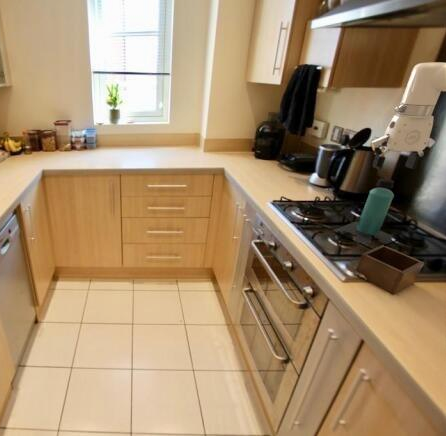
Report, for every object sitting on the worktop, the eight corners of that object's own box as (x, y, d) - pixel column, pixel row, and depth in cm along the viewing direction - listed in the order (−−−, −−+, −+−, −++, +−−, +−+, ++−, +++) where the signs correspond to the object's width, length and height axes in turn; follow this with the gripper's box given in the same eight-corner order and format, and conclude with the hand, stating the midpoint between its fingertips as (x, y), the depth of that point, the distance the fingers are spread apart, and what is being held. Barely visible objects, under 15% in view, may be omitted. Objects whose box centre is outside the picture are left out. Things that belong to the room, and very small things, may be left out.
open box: (413, 283, 87) (424, 262, 84) (393, 294, 83) (404, 273, 80) (374, 264, 95) (382, 244, 92) (353, 273, 91) (362, 253, 88)
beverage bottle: (381, 239, 106) (405, 184, 96) (359, 238, 107) (381, 183, 98) (371, 230, 112) (393, 176, 102) (350, 228, 113) (370, 176, 103)
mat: (398, 239, 107) (399, 238, 106) (375, 250, 101) (375, 249, 101) (355, 222, 118) (356, 221, 118) (332, 231, 112) (332, 230, 112)
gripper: (392, 113, 87) (371, 172, 95) (459, 111, 86) (432, 171, 94) (374, 109, 94) (356, 164, 102) (436, 107, 93) (413, 164, 101)
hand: (393, 168), depth 98 cm, fingers open, 9 cm apart
